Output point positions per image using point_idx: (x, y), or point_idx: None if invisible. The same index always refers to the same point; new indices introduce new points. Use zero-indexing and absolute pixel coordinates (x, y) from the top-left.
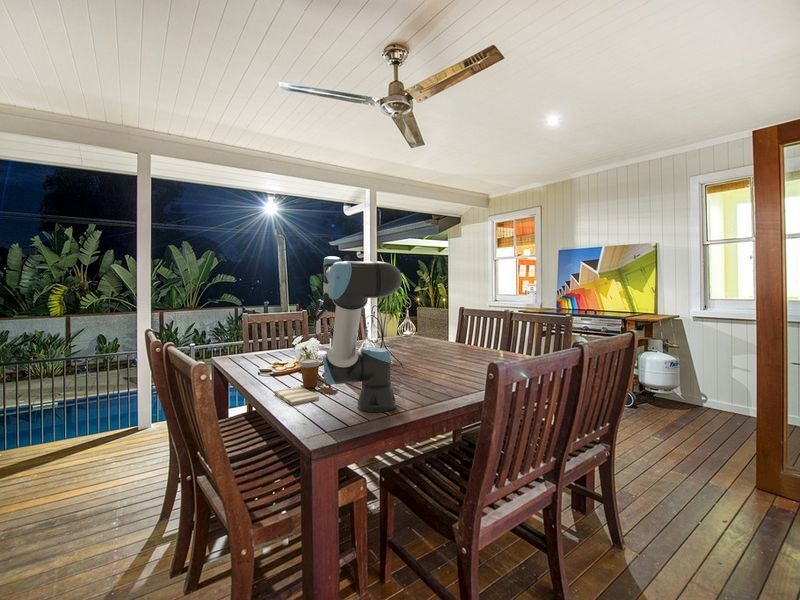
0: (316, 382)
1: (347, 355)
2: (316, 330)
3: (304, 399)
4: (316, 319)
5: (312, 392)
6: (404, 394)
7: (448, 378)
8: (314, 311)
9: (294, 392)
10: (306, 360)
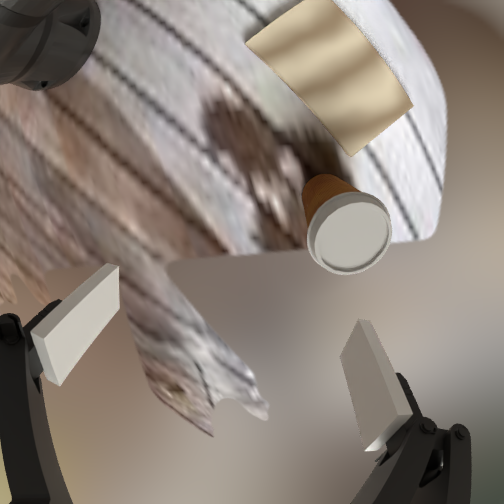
0: (304, 195)
1: None
2: (378, 341)
3: (287, 11)
4: (415, 430)
5: (284, 79)
6: (20, 154)
7: (8, 288)
8: (461, 501)
9: (349, 81)
10: (369, 256)
